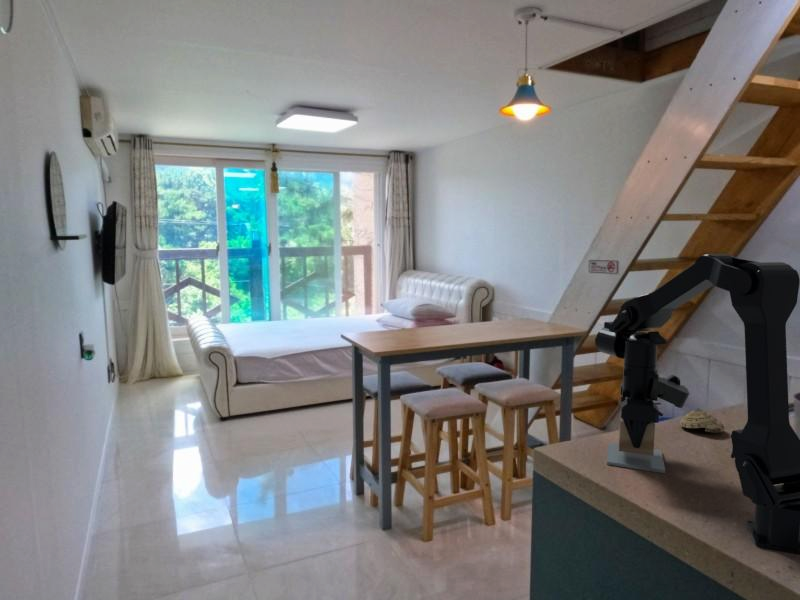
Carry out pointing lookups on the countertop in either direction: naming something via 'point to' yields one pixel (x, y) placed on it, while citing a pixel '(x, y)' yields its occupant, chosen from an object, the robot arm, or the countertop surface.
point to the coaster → (635, 459)
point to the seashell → (702, 421)
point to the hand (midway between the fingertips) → (635, 441)
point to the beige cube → (646, 443)
